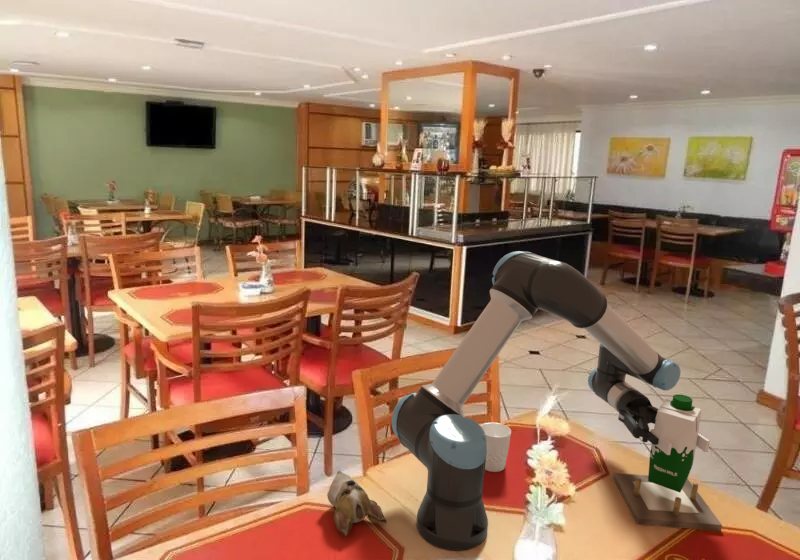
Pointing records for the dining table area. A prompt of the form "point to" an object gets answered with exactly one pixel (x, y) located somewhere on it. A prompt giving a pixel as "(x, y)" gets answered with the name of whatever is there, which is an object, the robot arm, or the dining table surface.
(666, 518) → the pin base plate
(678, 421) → the soya milk
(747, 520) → the dining table surface
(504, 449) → the white cup
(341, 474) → the ceramic sculpture
